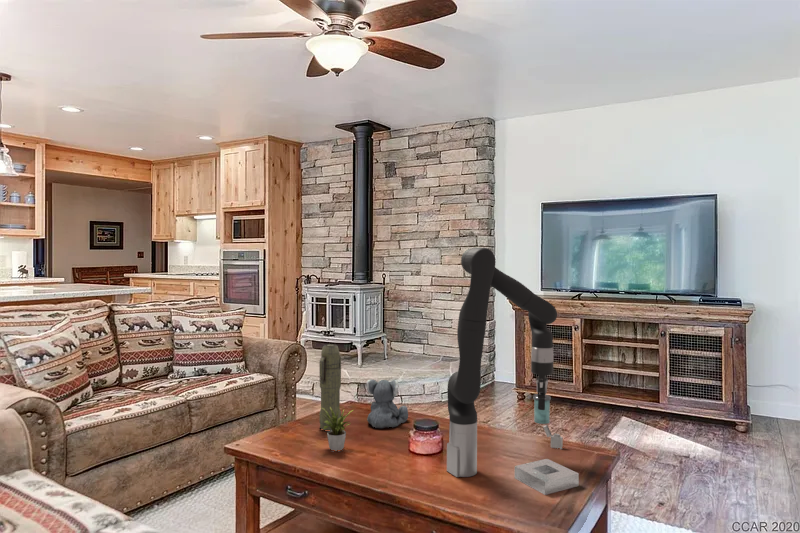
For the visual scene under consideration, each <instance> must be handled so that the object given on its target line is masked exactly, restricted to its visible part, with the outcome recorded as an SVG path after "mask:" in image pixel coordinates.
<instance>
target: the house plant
mask: <svg viewBox="0 0 800 533" xmlns="http://www.w3.org/2000/svg"><path fill="white" fill-rule="evenodd" d="M322 409H323V408H322ZM330 409H331V412H332V419H331V418H330V416H329V414H328V412H327V411H326V410H325V409H324V410H325V411H326V413H327V415H326V414H325V415H326V416H327V417H328V418H329V419H330V421H331V423H332V424H333V425H332V424H331V423H330V422H329V421H325V422H324V423H327V424H328V425H329V426H330V428H331V429H332V430H330V429H329V428H328V427H329V426H325V427H324V429H326V428H328V429H329V430H330V431H326V432H327V433H326V434H327V441H328V448H330V449H331V450H335V451H337V450H342V449H343V448H345V444H346V443H345V442H346V437H347V436H346V435H347V431H345V428H346V427H347V426H349V425H350V423H349V421H345V419H346V418H347V417H348V416H349V415H350V414H351V412H353V411H354V409H352V410H349V412H348V413H347V414H344V412H345V409H343V410H342V411H341V417H340V418H339V419H338V421H337V416H338V413H337V415H336V416H335V413H334V412H333V410H332V408H331V407H330ZM337 411H338V410H337ZM323 414H324V413H323ZM322 416H323V415H322ZM324 417H325V416H324ZM325 418H326V417H325ZM326 419H327V418H326ZM327 420H328V419H327ZM320 425H322V424H320V423H319V426H320ZM344 425H345V426H344ZM324 429H323V430H324ZM330 449H329V450H330ZM343 450H344V449H343ZM343 450H342V451H343Z"/></svg>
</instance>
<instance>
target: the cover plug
mask: <svg viewBox="0 0 800 533" xmlns="http://www.w3.org/2000/svg"><path fill="white" fill-rule="evenodd" d="M539 395H544V394H539ZM537 396H538V393H537V394H536V393H535V394H533V395H532V398H533V400H534V401H533V402H534V404H533V405H534V408H533V411H534V412H533V413H534V414H533V415H534V420H533V422H534V423H536V424H541V425H548V424H550V422H551V421H550V416H551V415H550V414H551V412H550V410H551V409H550V407H551V405H550V402H551V400H552V397H551V396H550V395H549V394H545V397H546V399H545V410H539V409H538V397H537Z"/></svg>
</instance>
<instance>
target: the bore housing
mask: <svg viewBox="0 0 800 533" xmlns="http://www.w3.org/2000/svg"><path fill="white" fill-rule="evenodd" d="M579 476H580V475H579V472H577V471H574V470H572V469H570V468H568V467H565V466H564V465H562V464H559V463H558V462H555V461H553V460H551V459H549V458H545V459H543V458H542V459H539V460H534V461H531V462H527V463H521V464H517V465H514V479H515V480H517V481H519V482H521V483H522V484H524V485H527V487H530V488H532V489H534V490H535V491H537V492H538V493H541V494H542V495H544V496H546V495H550V494H551V495H552V494H555V493H558V492H561V491H565V490H570V489H573V488H576V487H579V483H580V481H579Z"/></svg>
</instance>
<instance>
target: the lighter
mask: <svg viewBox="0 0 800 533" xmlns="http://www.w3.org/2000/svg"><path fill="white" fill-rule="evenodd" d="M542 428H543V430H544V433H545V435H546V437H547V438H550V448H551V449H556V448H557V449H556V450H563V448H562V447H563V446H564V445H563V443H564V440H563V438H564V437H563V436H561V434H560V433H553V434H552V432H551V430H550V428H549V425H548V424H543V425H542ZM558 448H560V449H558Z"/></svg>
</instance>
